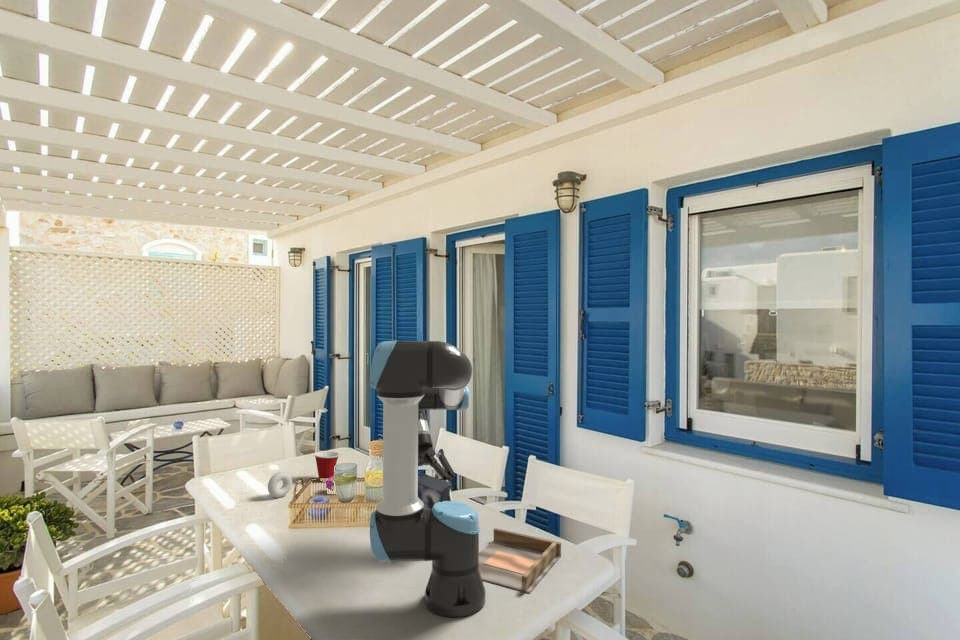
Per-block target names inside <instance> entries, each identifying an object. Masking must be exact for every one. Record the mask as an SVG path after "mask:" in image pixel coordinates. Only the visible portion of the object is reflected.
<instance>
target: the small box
mask: <svg viewBox="0 0 960 640" xmlns="http://www.w3.org/2000/svg"><path fill="white" fill-rule="evenodd" d="M451 483H452V482H451ZM451 483H449V482H446V481H444V479H440V478H437V477H434V476H432V475H428V474H425V473H422V474H421V475H418V498H419V499H420V500H421V501H423V503H424V510H432V507H433V505H434V504H435V503H438V502H442V501H449V495H450V486H451Z"/></svg>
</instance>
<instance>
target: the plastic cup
mask: <svg viewBox="0 0 960 640" xmlns="http://www.w3.org/2000/svg"><path fill="white" fill-rule="evenodd" d="M313 454H314V457H315V462H316V468H317V470H316V471H317V475H318V479H319V478H330V477H335V472H334V466H335V465H336V466H337V464H338V463H337V462H338V458H339V457H340V453H339V452H337V451H330V450H329V451H328V450H323V451H317V452H314V453H313Z"/></svg>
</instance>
